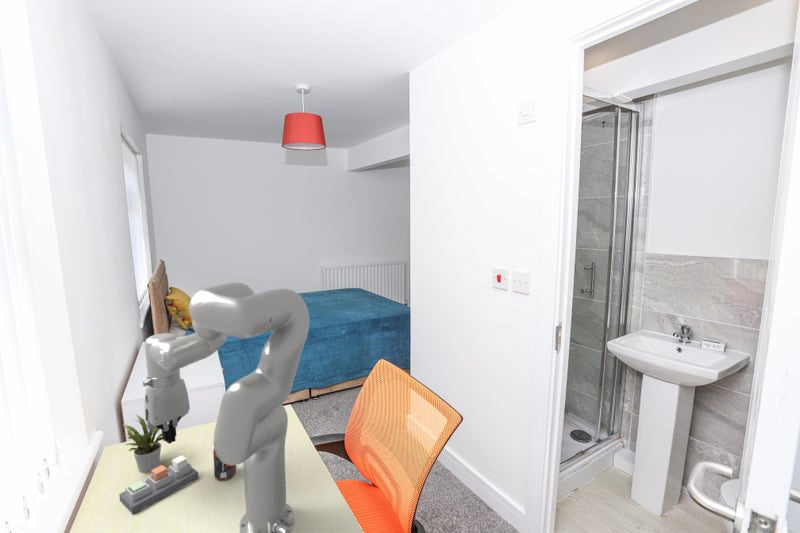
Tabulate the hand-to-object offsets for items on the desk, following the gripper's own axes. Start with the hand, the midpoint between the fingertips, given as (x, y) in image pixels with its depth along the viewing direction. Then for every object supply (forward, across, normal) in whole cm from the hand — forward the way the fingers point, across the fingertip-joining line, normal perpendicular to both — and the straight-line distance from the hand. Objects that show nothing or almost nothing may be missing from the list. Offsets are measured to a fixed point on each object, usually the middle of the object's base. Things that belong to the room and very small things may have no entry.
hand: (169, 440), depth 111 cm
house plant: (+13, +1, +13) cm, 18 cm away
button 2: (+9, -3, 0) cm, 10 cm away
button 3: (+9, +2, 0) cm, 10 cm away
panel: (+13, -3, 0) cm, 13 cm away
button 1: (+11, -9, 0) cm, 14 cm away
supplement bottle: (+13, +10, -9) cm, 19 cm away
